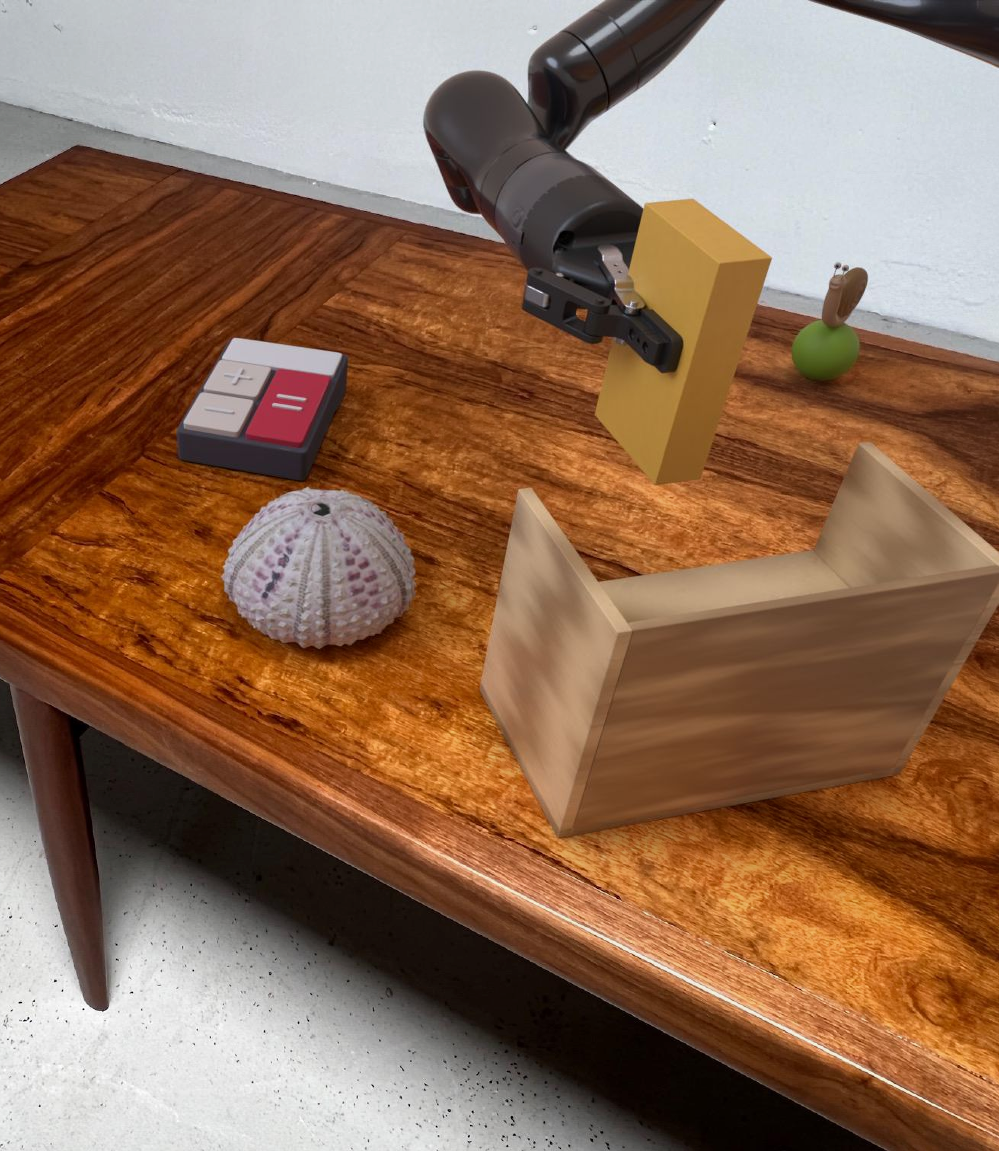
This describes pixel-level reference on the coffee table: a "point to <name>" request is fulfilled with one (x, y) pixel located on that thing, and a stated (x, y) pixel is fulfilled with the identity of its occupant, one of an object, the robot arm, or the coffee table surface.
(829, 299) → the snail figurine
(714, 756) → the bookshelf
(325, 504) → the sea urchin shell
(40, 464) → the coffee table surface
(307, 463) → the calculator
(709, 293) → the mustard yellow pillar block
